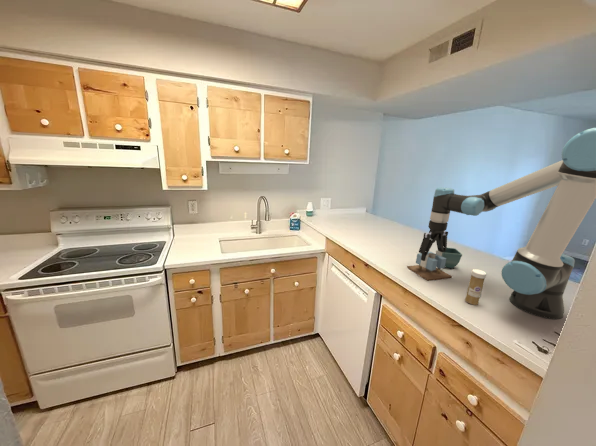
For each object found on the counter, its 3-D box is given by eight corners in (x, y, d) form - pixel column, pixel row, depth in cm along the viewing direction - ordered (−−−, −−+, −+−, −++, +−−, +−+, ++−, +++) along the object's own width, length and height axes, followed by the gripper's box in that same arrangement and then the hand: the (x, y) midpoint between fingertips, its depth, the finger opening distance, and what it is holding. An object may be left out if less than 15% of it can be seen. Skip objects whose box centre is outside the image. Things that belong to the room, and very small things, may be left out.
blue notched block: (444, 267, 117) (446, 258, 116) (431, 270, 114) (433, 261, 112) (428, 260, 125) (430, 251, 124) (415, 262, 121) (417, 253, 120)
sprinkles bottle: (469, 305, 94) (477, 273, 91) (462, 298, 99) (469, 268, 95) (481, 305, 94) (489, 274, 91) (473, 298, 99) (480, 268, 95)
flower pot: (459, 270, 124) (462, 254, 121) (440, 268, 125) (443, 252, 123) (452, 263, 132) (455, 248, 130) (434, 261, 134) (437, 246, 131)
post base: (451, 278, 115) (456, 258, 113) (427, 281, 112) (431, 261, 109) (429, 265, 128) (433, 248, 126) (407, 267, 125) (410, 249, 122)
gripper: (446, 217, 121) (438, 259, 127) (415, 220, 112) (407, 265, 118) (461, 221, 114) (452, 264, 120) (429, 225, 105) (420, 271, 111)
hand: (430, 264), depth 119 cm, fingers closed on blue notched block, 9 cm apart
